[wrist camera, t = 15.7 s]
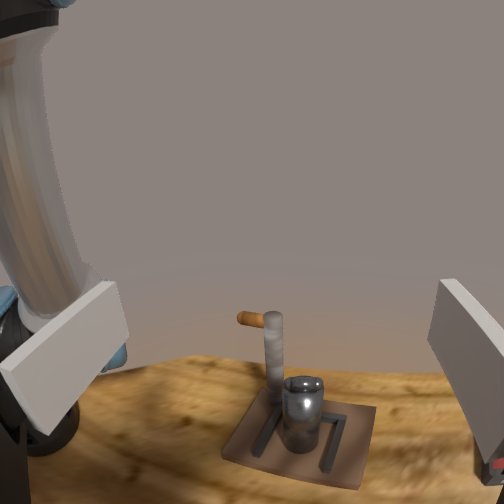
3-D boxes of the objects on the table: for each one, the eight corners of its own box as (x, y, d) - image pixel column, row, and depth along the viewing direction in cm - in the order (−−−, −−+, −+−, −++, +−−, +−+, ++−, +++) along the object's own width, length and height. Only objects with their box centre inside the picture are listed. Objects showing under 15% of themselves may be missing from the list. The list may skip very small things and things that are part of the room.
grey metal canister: (281, 453, 33) (280, 392, 29) (284, 427, 37) (283, 365, 34) (318, 454, 32) (325, 393, 29) (318, 428, 36) (324, 365, 33)
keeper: (209, 454, 35) (185, 363, 30) (251, 391, 47) (243, 303, 42) (358, 490, 27) (390, 403, 22) (374, 413, 39) (395, 321, 34)
